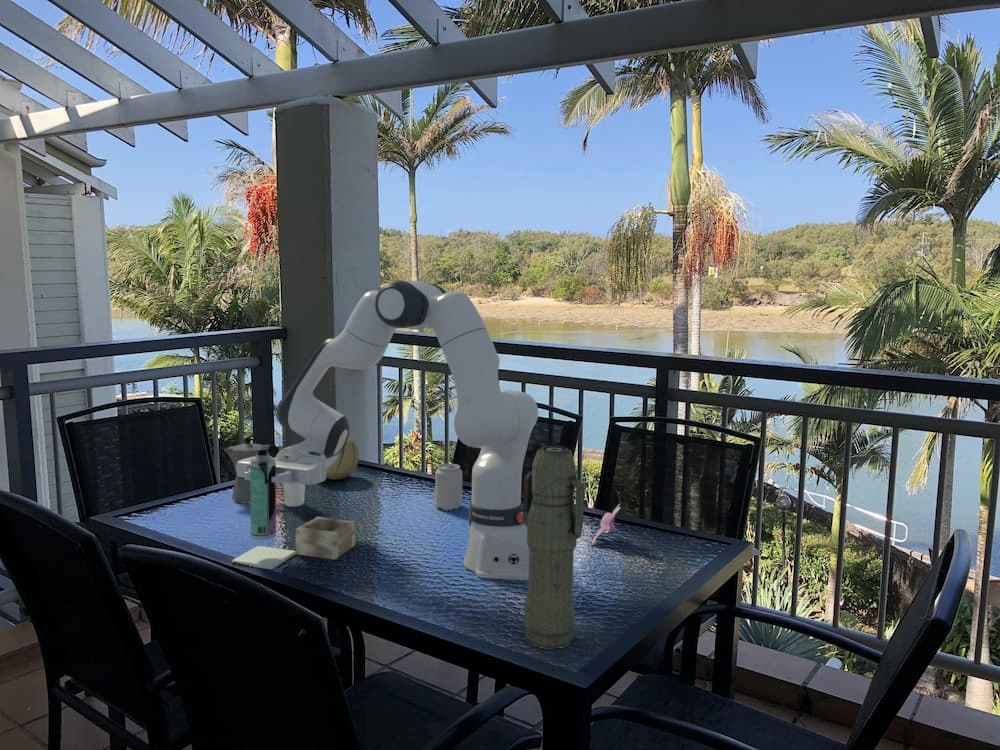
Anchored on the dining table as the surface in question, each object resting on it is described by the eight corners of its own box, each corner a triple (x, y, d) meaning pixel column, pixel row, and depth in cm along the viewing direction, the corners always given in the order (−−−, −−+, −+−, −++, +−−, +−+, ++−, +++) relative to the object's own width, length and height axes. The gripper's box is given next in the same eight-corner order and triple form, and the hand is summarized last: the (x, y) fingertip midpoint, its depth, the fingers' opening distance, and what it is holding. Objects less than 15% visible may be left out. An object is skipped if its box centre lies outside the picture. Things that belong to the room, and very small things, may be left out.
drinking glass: (300, 509, 216) (299, 455, 214) (277, 507, 218) (276, 454, 216) (310, 502, 223) (310, 450, 221) (288, 500, 224) (288, 448, 222)
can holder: (355, 545, 189) (355, 521, 188) (334, 559, 179) (334, 534, 178) (317, 540, 192) (317, 516, 191) (295, 554, 182) (295, 529, 181)
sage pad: (295, 554, 182) (295, 550, 182) (271, 569, 173) (271, 565, 172) (258, 549, 185) (258, 545, 185) (232, 563, 175) (231, 560, 175)
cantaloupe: (301, 478, 248) (301, 432, 246) (339, 470, 259) (338, 425, 257) (331, 487, 238) (330, 439, 237) (368, 478, 250) (368, 432, 248)
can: (467, 506, 222) (467, 465, 221) (451, 513, 216) (452, 470, 214) (445, 502, 226) (446, 461, 225) (429, 508, 220) (430, 466, 218)
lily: (608, 535, 204) (591, 503, 202) (647, 526, 196) (629, 494, 195) (590, 562, 194) (572, 529, 193) (630, 554, 187) (611, 520, 186)
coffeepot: (222, 504, 219) (220, 440, 217) (227, 495, 228) (226, 434, 226) (279, 502, 222) (278, 440, 220) (282, 493, 231) (281, 433, 229)
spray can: (280, 536, 178) (279, 449, 175) (257, 541, 174) (256, 452, 172) (269, 530, 182) (268, 445, 179) (246, 534, 178) (245, 448, 176)
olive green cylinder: (531, 621, 149) (536, 440, 145) (588, 637, 143) (595, 448, 139) (507, 639, 142) (512, 448, 138) (566, 656, 136) (573, 458, 131)
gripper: (256, 447, 191) (220, 460, 178) (331, 455, 185) (300, 469, 172) (256, 472, 192) (220, 487, 179) (331, 481, 186) (300, 497, 173)
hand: (260, 478), depth 176 cm, fingers closed on spray can, 5 cm apart
